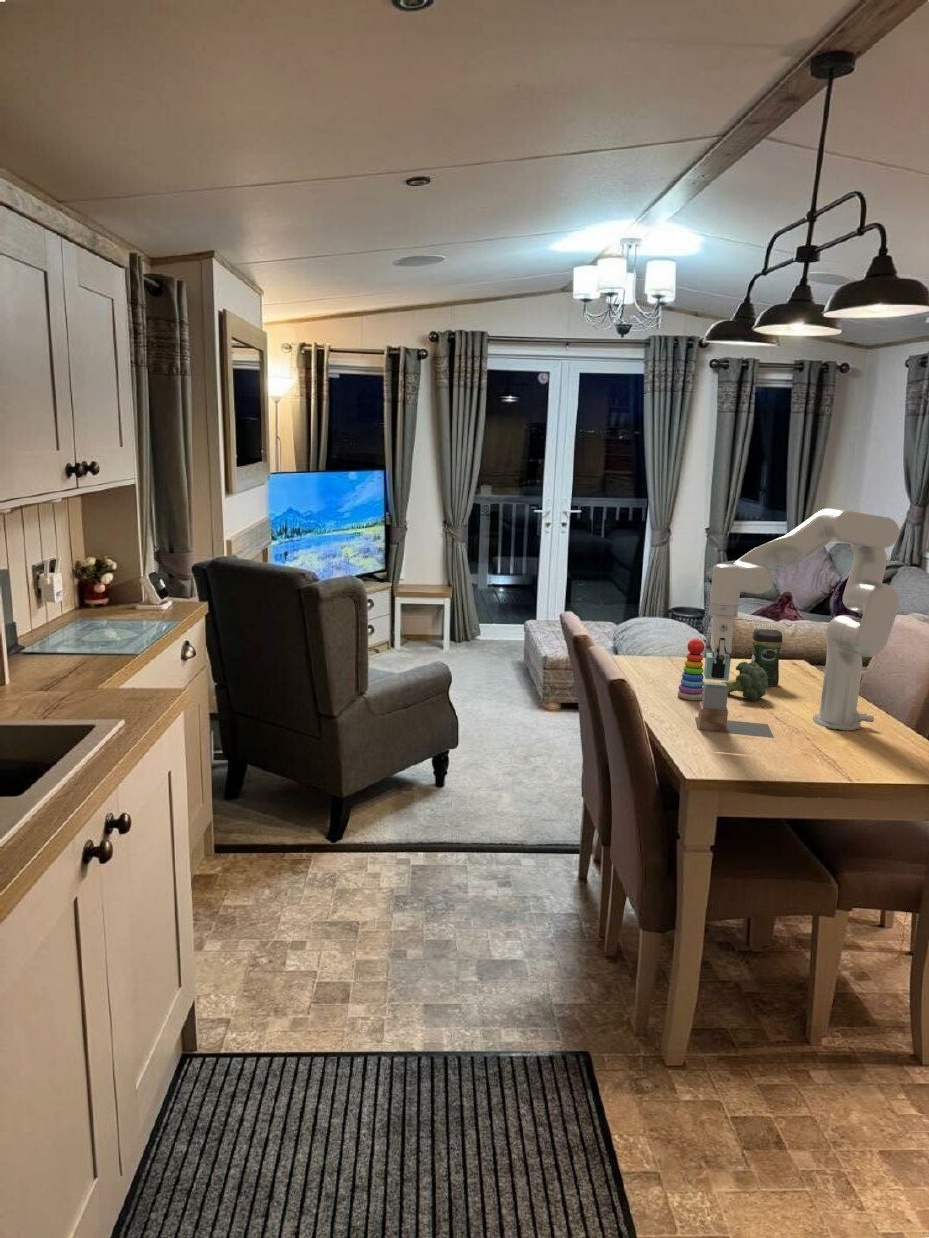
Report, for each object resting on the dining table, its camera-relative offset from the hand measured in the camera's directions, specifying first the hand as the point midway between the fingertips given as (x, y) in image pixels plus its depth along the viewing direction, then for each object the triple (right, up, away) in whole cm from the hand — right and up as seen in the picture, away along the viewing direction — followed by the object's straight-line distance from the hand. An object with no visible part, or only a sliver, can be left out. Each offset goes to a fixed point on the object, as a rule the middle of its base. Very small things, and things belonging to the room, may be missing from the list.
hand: (716, 674), depth 235 cm
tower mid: (0, -9, +2) cm, 9 cm away
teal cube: (0, -1, 0) cm, 1 cm away
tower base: (0, -15, +3) cm, 15 cm away
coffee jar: (+31, -7, +53) cm, 62 cm away
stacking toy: (+1, -10, +33) cm, 34 cm away
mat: (+6, -15, +4) cm, 17 cm away
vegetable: (+19, -10, +36) cm, 42 cm away
